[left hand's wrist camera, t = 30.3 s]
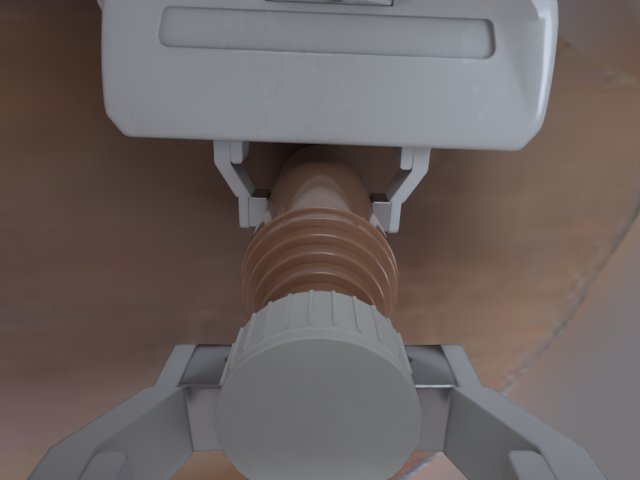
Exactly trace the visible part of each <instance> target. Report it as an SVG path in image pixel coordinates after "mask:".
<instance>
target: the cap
mask: <svg viewBox="0 0 640 480" xmlns="http://www.w3.org/2000/svg"><path fill="white" fill-rule="evenodd" d="M411 374H413V372H412V369H411V366H410V363H409V360H408V356H407V353H406V350H405V347H404V344H403V340H402V337H401V335H400V333H398V334H397V332H396V331H395V329H394V328H393V326H392V324H391V321H390V319H389V318H385V317H384V316H383V315H382V314H381V313H380V312H378V311H377V310H376V308H375V306H374V305H372V306H370V305H368V304H366V303H364V302H362V301H361V300H359V299H357V297H356V296H353V297H351V296H348V295H344V294H342V293H341V294H340V293H336V292H335V291H332V292H327V291H313V290H309V292H302V293H296V294H293V295H292V294H291V293H290V294H288V296H286V297H284V298H281V299H278V300H276V301H274V302H273V303H272V301H270V302H268V305H267V306H266V307H264V308H263V309H261V310H260V311H259V312H257V313H256V314H255V313H253V314H252V316H251V319H250V320H249V321H248V323H247V324H246V325H245V326H244V328H242V327H241V328H240V330H239V333H238V336H237V339H236V342H235V344H234V343H233V344H232V347H231V350H230V353H229V356H228V359H227V362H226V365H225V368H224V371H223V374H222V377H221V380H220V383H219V385H222V387H221V390H220V393H219V396H218V399H217V404H216V408H215V427H216V433H217V436H218V440H219V443H220V445H221V447H222V449H223V452H224V453H225V455H226V456H227V458H228V459H229V461H230V462H231V463H232V464H233V465H234V467H235V468H236V469H237V470H238V471H239V472H240V473H242V474H243V475H244V476H245V477H246V478H248V479H249V480H388V479H389V478H391V477H392V476H393V475H394V474H395V473H396V472H397V471H399V470H400V469H401V468H402V466H403V465H404V464H405V463H406V462H407V460H408V459H409V457H410V456H411V454H412V453H413V451H414V449H415V446H416V444H417V442H418V439H419V435H420V431H421V422H422V415H421V406H420V402H419V398H418V395H417V392H416V389H415V385H414V382H413V379H412V375H411Z"/></svg>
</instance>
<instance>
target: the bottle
mask: <svg viewBox="0 0 640 480" xmlns="http://www.w3.org/2000/svg"><path fill="white" fill-rule="evenodd" d="M309 290H313V291H327V292H332V291H335V292H336V293H340V294H341V293H342V294H344V295H348V296H351V297H353V296H356V297H357V299H359V300H361V301H362V302H364V303H366V304H368V305H370V306H372V305H374V306H375V308H376V310H377V311H378V312H380V313H381V314H382V315H383V316H384V317H385V318H389V319H390V317H391V315H392V313H393V310H394V308H395V305H396V300H397V292H398V268H397V263H396V259H395V256H394V254H393V251H392V249H391V246H390V244H389V242H388V239H387V237H386V234H385V232H384V230H383V227H382V225H381V223H380V220H379V218H378V216H377V213H376V211H375V208H374V206H373V204H372V201H371V199H370V197H369V194H368V192H367V189H366V187H365V185H364V182H363V180H362V178H361V175H360V173H359V171H358V168H357V166H356V165H355V163H354V162H353V160H352V159H351V158H350V157H349V156H348V155H347V154H345V153H344V152H343V151H341V150H339V149H337V148H335V147H332V146H328V145H311V146H308V147H305V148H302V149H300V150H298V151H297V152H295V153H294V154H293V155H291V156H290V157H289V158H288V159H287V161H286V162H285V163H284V165H283V167H282V169H281V171H280V173H279V176H278V178H277V180H276V182H275V185H274V187H273V189H272V192H271V194H270V196H269V198H268V201H267V203H266V205H265V208H264V210H263V212H262V215H261V217H260V219H259V221H258V224H257V226H256V228H255V231H254V233H253V235H252V237H251V240H250V242H249V244H248V247H247V249H246V251H245V254H244V257H243V259H242V264H241V269H240V292H241V300H242V304H243V308H244V310H245V313H246V315H247V317H248V319H249V320H250V319H251V316H252V314H253V313H255V314H256V313H257V312H259V311H260V310H261V309H263V308H264V307H266V306H267V305H268V302H270V301H272V303H273V302H274V301H276V300H278V299H281V298H284V297H286V296H288V294H290V293H291V294H292V295H293V294H296V293H302V292H309Z"/></svg>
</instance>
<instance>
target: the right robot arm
mask: <svg viewBox="0 0 640 480" xmlns="http://www.w3.org/2000/svg"><path fill="white" fill-rule="evenodd" d="M97 2H98V4H99V7H100V9H101V11H102V22H101V68H102V85H103V98H104V106H105V111H106V113H107V116H108V117H109V118H110V119H111V121H112V122H113V123H114V124H115V125H116V126H117V128H118V129H119V130H120V131H121V132H122V133H123V134H124V135H126V136H129V137H147V138H174V139H201V140H213V146H214V163H215V165H216V166H217V168H218V170H219V171H220V173H221V174H222V176H223V177H224V179H225V180H226V182H227V184H228V185H229V187H230V188H231V190H232V191H233V193H234V194H235V196H236V197H238V199H239V224H240V228H256V226H257V224H258V221H259V219H260V217H261V215H262V212H263V210H264V208H265V205H266V203H267V201H268V198H269V196H270V194H271V190H270V189H256V187H255V185H254V184H253V182H252V180H251V178H250V177H249V175H248V173H247V171H246V170H245V168H244V166H243V164H242V163H241V162H242V161H243V160H244V159H245V158H246V157H247V156H248V155H249V141H254V142H281V143H308V144H335V145H361V146H388V147H395V148H394V161H395V162H396V163H397V164H398V165H399V167H400V170H399V171H398V173H397V174H396V175H395V177H394V178H393V180H392V181H391V183H390V184H389V186H388V187H387V189H386V190H385V192H384V193H369V197H370V199H371V201H372V204H373V206H374V208H375V211H376V213H377V216H378V218H379V220H380V223H381V225H382V227H383V230H384V232H385V233H397V232H398V229H399V221H400V212H401V203H404V202H405V201H406V199H407V198H408V197H409V195H410V194H411V193H412V191H413V190H414V189H415V187H416V186H417V185H418V183H419V182H420V181H421V179H422V178H423V177H424V176H425V174H426V173H427V172H428V165H429V158H430V150H431V148H442V149H468V150H495V151H518V150H521V149H522V148H523V147H524V146H525V145H526V144H527V143H528V142H529V141H530V140H531V139H532V138H533V137H534V136H535V135H536V134H537V133H538V132H539V131H540V129H541V127H542V124H543V121H544V118H545V114H546V109H547V105H548V100H549V95H550V89H551V83H552V77H553V70H554V63H555V55H556V45H557V35H558V3H557V0H97Z"/></svg>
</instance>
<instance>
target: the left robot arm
mask: <svg viewBox="0 0 640 480" xmlns="http://www.w3.org/2000/svg"><path fill="white" fill-rule="evenodd" d="M231 347H232V345H218V344H198V345H197V344H178V345H176V346H175V347H174V348H173V350H172V352H171V354H170V356H169V358H168V359H167V361H166V363H165V365H164V367H163V369H162V371H161V372H160V374H159V376H158V378H157V380H156V382H155V384H154V386H153V387H146V388H144V389H143V390H141V391H139V392H138V393H136V394H135V395H133V396H132V397H130V398H128V399H127V400H125V401H124V402H122V403H120V404H119V405H117V406H116V407H114V408H113V409H111V410H109V411H108V412H106V413H105V414H103V415H101V416H100V417H98V418H97V419H95V420H94V421H92V422H90V423H89V424H87V425H86V426H84V427H82V428H81V429H79V430H78V431H76V432H75V433H73V434H71V435H70V436H68V437H67V438H65V439H63V440H62V441H60V442H59V443H57V444H56V445H54V446H52V447H51V448H49V450H48V451H47V453H46V454H45V455H44V457H43V458H42V459H41V461H40V462H39V464H38V465H37V466H36V468H35V469H34V470H33V472H32V473H31V475H30V476H29V477H28V479H27V480H168V479H169V478H170V477H171V476H172V475H173V474H174V473H175V472H176V471H177V470H178V469H179V468H180V467H181V466H182V465H183V464H184V463H185V462H186V460H187V459H188V458H189V457H190V456H191V455H192V454H193V452H202V451H223V449H222V447H221V445H220V443H219V440H218V436H217V433H216V427H215V408H216V404H217V399H218V396H219V393H220V390H221V387H222V385H219V383H220V380H221V377H222V374H223V371H224V368H225V365H226V362H227V359H228V356H229V353H230V350H231ZM404 347H405V350H406V353H407V356H408V360H409V363H410V366H411V369H412V372H413V374H411V375H412V379H413V382H414V385H415V389H416V392H417V395H418V398H419V402H420V406H421V415H422V422H421V431H420V435H419V439H418V442H417V444H416V446H415V449H414V451H434V452H444V454H445V455H446V456H447V458H449V460H450V461H451V462H452V463H453V464H454V465H455V466H456V467H457V468H458V469H459V470H460V471H461V472H462V473H463V475H464V476H465V477H466V478H467V479H468V480H608V479H607V477H606V476H605V474H604V473H603V471H602V470H601V469H600V467H599V466H598V464H597V463H596V462H595V460H594V459H593V457H592V456H591V454H590V453H589V452H588V450H587V449H586V448H584V447H583V446H581V445H580V444H578V443H577V442H575V441H573V440H572V439H570V438H569V437H567V436H566V435H564V434H562V433H561V432H559V431H558V430H556V429H555V428H553V427H551V426H550V425H548V424H547V423H545V422H544V421H542V420H541V419H539V418H537V417H536V416H534V415H533V414H531V413H529V412H528V411H526V410H525V409H523V408H522V407H520V406H519V405H517V404H515V403H514V402H512V401H511V400H509V399H508V398H506V397H505V396H503V395H501V394H500V393H498V392H497V391H495V390H494V389H492V388H490V387H483V385H482V383H481V381H480V379H479V377H478V376H477V374H476V372H475V370H474V368H473V366H472V364H471V362H470V360H469V359H468V357H467V355H466V353H465V351H464V349H463V347H462V346H461V345H460V344H439V345H404Z"/></svg>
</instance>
